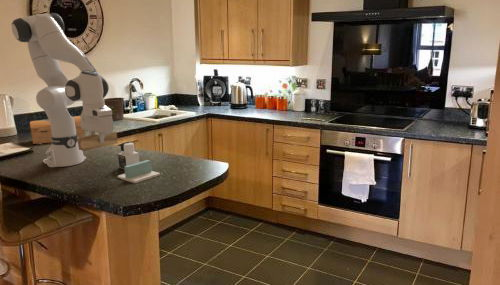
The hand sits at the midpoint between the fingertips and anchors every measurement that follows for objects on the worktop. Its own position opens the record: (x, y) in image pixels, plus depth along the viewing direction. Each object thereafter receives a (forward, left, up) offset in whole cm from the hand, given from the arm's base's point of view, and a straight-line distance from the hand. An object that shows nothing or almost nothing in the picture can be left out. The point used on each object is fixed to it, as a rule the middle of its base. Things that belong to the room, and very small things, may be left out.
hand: (98, 141), depth 180 cm
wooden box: (-98, +28, -17) cm, 103 cm away
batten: (0, 0, -2) cm, 2 cm away
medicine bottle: (-5, +17, -17) cm, 24 cm away
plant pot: (-131, +89, -17) cm, 159 cm away
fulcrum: (+11, +11, -17) cm, 23 cm away
